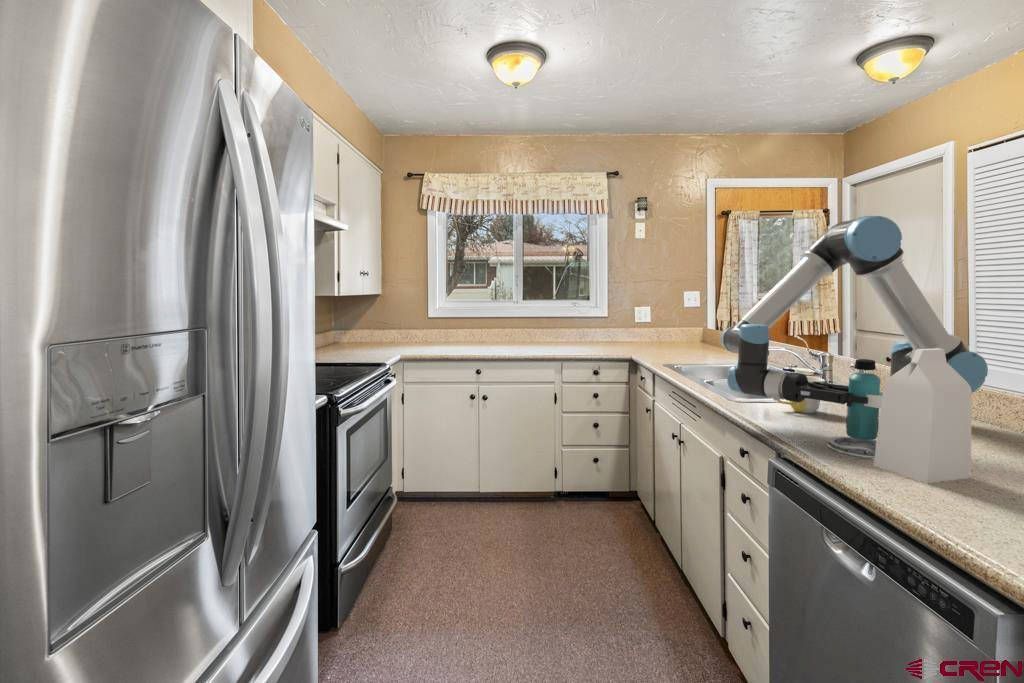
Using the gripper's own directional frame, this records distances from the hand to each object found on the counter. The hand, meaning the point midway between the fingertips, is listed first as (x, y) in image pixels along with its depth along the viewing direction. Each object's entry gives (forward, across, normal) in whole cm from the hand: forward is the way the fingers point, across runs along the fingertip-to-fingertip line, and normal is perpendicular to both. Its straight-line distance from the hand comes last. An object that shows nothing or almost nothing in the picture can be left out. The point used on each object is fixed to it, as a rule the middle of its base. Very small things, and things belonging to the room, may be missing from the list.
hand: (889, 401), depth 124 cm
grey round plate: (-5, 0, -13) cm, 14 cm away
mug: (-33, -31, -13) cm, 47 cm away
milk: (+9, +7, -13) cm, 17 cm away
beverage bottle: (-5, 0, -11) cm, 12 cm away
